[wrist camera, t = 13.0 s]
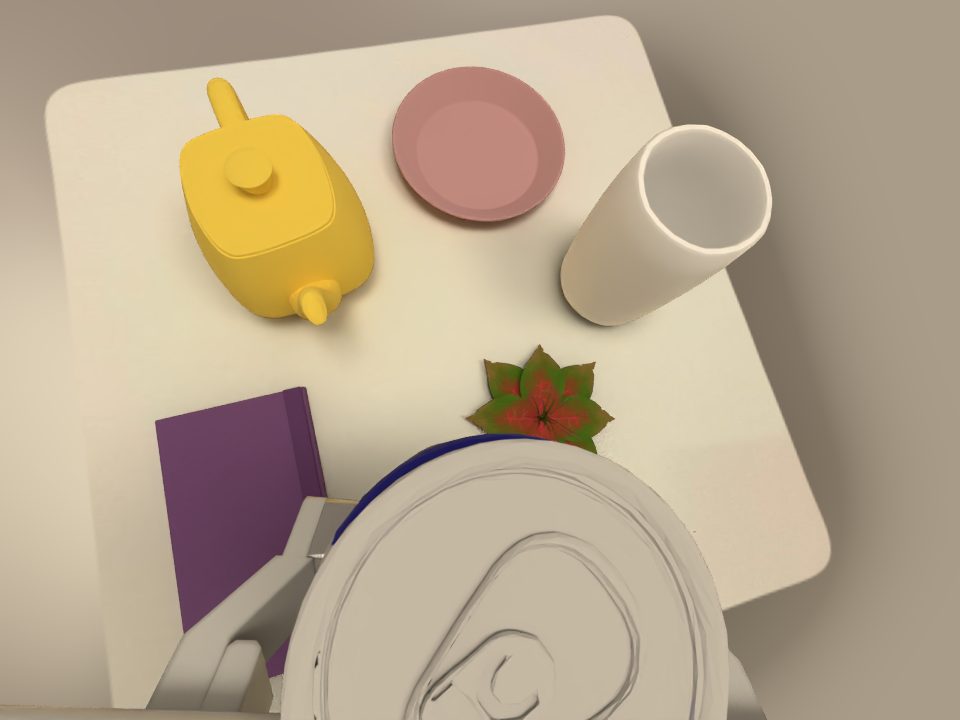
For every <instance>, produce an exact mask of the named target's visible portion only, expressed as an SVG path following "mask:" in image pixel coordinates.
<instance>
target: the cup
mask: <svg viewBox="0 0 960 720" xmlns="http://www.w3.org/2000/svg"><path fill="white" fill-rule="evenodd" d="M771 207H772V196H771V190H770V184H769V181H768V178H767V175H766V173H765V170H764V168H763V166H762V165H761V163H760V162H759V161H758V159H757V158H756V157H755V155H754V154H753V153H752V152H751V151H750V150H749V149H748V148H747V147H746V146H744V145H743V144H742V143H741V142H740V141H739V140H737V139H736V138H734V137H732V136H730V135H729V134H727V133H725V132H724V131H721V130H718V129H715V128H712V127H710V126H707V125H682V126H677V127H671V128H669V129H667V130H665V131H663V132H661V133H659V134H657V135H655V136H654V137H653V138H652V139H651V140H650V141H648V142H647V143H646V144H645V145H644V146H643V147H642V148H641V149H640V150H639V151H638V153H637V154H636V155H635V156H634V157H633V158H632V159H631V160H630V162H629V163H628V164H627V165H626V166H625V167H624V168H623V169H622V170H621V172H620V173H619V174H618V175H617V177H616V178H615V179H614V181H613V182H612V183H611V184H610V186H609V187H608V188H607V189H606V191H605V192H604V193H603V195H602V196H601V198H600V199H599V201H598V202H597V204H596V205H595V206H594V208H593V209H592V211H591V212H590V214H589V216H588V217H587V219H586V220H585V222H584V223H583V225H582V227H581V228H580V230H579V232H578V233H577V235H576V237H575V239H574V240H573V242H572V244H571V246H570V248H569V250H568V252H567V254H566V256H565V258H564V260H563V263H562V267H561V272H560V273H561V285H562V289H563V292H564V296H565V297H566V299H567V300H568V302H569V303H570V305H571V306H572V307H573V308H574V309H575V310H576V311H577V312H578V313H579V314H580V315H581V316H583V317H585V318H586V319H588V320H590V321H592V322H594V323H597V324H600V325H603V326H616V325H620V324H624V323H628V322H630V321H633V320H635V319H637V318H639V317H642V316H644V315H646V314H648V313H650V312H652V311H654V310H656V309H657V308H659V307H661V306H663V305H665V304H667V303H669V302H670V301H672V300H674V299H675V298H677V297H679V296H681V295H682V294H684V293H686V292H687V291H689V290H691V289H692V288H694V287H696V286H697V285H699V284H701V283H702V282H704V281H705V280H707V279H708V278H710V277H711V276H713V275H714V274H716V273H717V272H718V271H720V270H721V269H723V268H724V267H726V266H727V265H728V264H730V263H731V262H732V261H733V260H735V259H736V258H737V257H738V256H740V255H741V254H743V253H744V252H745V251H747V250H748V249H749V248H750V247H752V246H753V245H754V244H755V243H756V242H757V241H758V240H759V239H760V238H761V237H762V236H763V235H764V234H765V231H766V228H767V226H768V223H769V220H770V216H771Z"/></svg>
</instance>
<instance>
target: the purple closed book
mask: <svg viewBox="0 0 960 720" xmlns="http://www.w3.org/2000/svg"><path fill="white" fill-rule="evenodd" d="M155 425H156V432H157V440H158V447H159V454H160V462H161V469H162V476H163V484H164V491H165V498H166V506H167V513H168V521H169V528H170V535H171V543H172V550H173V557H174V565H175V572H176V579H177V587H178V594H179V601H180V609H181V616H182V624H183V631H184V634H185V633H186V632H187V631H188V630H190V629H191V628H192V627H193V626H194V625H195V624H197V623H198V622H199V621H200V620H201V619H202V618H204V617H205V616H206V615H207V614H208V613H209V612H211V611H212V610H213V609H214V608H215V607H216V606H218V605H219V604H220V603H221V602H222V601H223V600H225V599H226V598H227V597H228V596H229V595H230V594H232V593H233V592H234V591H235V590H236V589H237V588H239V587H240V586H241V585H242V584H243V583H244V582H246V581H247V580H248V579H249V578H250V577H251V576H253V575H254V574H255V573H256V572H257V571H258V570H260V569H261V568H262V567H263V566H264V565H265V564H267V563H268V562H269V561H270V560H271V559H272V558H274V557H275V556H276V555H281V556H282V555H283V552H284V550H285V547H286V545H287V542H288V539H289V537H290V534H291V532H292V529H293V527H294V524H295V521H296V519H297V516H298V514H299V511H300V508H301V506H302V503H303V501H304V500H305V498H306V497H307V496H312V497H324V498H327V494H326V488H325V483H324V478H323V473H322V468H321V463H320V458H319V453H318V447H317V442H316V437H315V432H314V427H313V422H312V417H311V412H310V406H309V401H308V396H307V391H306V388H305V387H296V388H292V389H287V390H283V392H278V393H274V394H270V395H265V396H261V397H257V398H252V399H248V400H244V401H239V402H235V403H231V404H226V405H222V406H217V407H213V408H209V409H204V410H200V411H196V412H191V413H187V414H183V415H178V416H174V417H170V418H165V419H161V420H157V421H155ZM291 635H292V633H291ZM291 635H290V636H289V637H288V638H287V639H286V640H285V642H284V643H283V644H282V645H281V646H280V648H279V649H278V650H277V651H276V652H275V653H274V655H273V656H272V657H271V658H270V659H269V660H268V662H267V663H266V664H265V665H266V668H267V672H268V676H269V678H271V677H274V676H277V675H280V674H283V673H284V667H285V662H286V657H287V652H288V647H289V643H290V638H291Z"/></svg>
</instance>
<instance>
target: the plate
mask: <svg viewBox="0 0 960 720" xmlns="http://www.w3.org/2000/svg"><path fill="white" fill-rule="evenodd" d="M392 143H393V150H394V155H395V158H396V161H397V164H398V166H399V168H400V171H401V172H402V174H403V176H404V178H405V179H406V181H407V182H408V183H409V185H410V186H411V187H412V188H413V189H414V190H415V191H416V193H417V194H419V195H420V196H421V197H422V198H423V199H424V200H425V201H427V202H428V203H430V204H431V205H433V206H434V207H436V208H438V209H439V210H441V211H443V212H445V213H448V214H450V215H453V216H456V217H459V218H463V219H467V220H473V221H500V220H505V219H510V218H513V217H516V216H519V215H521V214H524V213H526V212H528V211H529V210H531V209H533V208H534V207H536V206H537V205H538V204H540V203H541V202H542V201H543V200H544V199H545V198H546V197H547V196H548V195H549V194H550V192H551V191H552V190H553V188H554V187H555V185H556V183H557V182H558V180H559V177H560V175H561V172H562V169H563V164H564V158H565V144H564V138H563V133H562V130H561V127H560V124H559V122H558V119H557V117H556V116H555V114H554V112H553V110H552V109H551V107H550V106H549V105H548V103H547V102H546V101H545V100H544V99H543V98H542V97H541V95H539V94H538V93H537V92H536V91H535V90H534V89H533V88H531V87H530V86H529V85H527V84H526V83H524V82H523V81H521V80H519V79H517V78H516V77H514V76H511V75H509V74H507V73H504V72H501V71H498V70H494V69H489V68H483V67H458V68H452V69H448V70H444V71H441V72H439V73H436V74H434V75H432V76H430V77H428V78H426V79H425V80H423V81H422V82H420V83H419V84H418V85H416V86H415V87H414V88H413V89H412V90H411V91H410V92H409V93H408V94H407V96H406V97H405V98H404V100H403V101H402V103H401V105H400V107H399V109H398V111H397V113H396V116H395V120H394V124H393V131H392Z"/></svg>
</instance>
